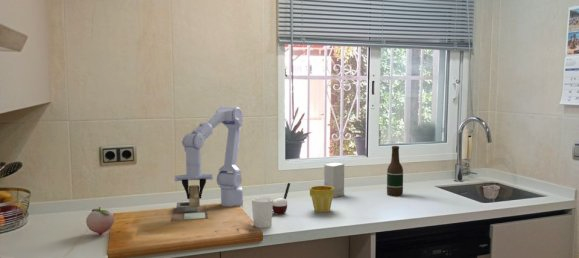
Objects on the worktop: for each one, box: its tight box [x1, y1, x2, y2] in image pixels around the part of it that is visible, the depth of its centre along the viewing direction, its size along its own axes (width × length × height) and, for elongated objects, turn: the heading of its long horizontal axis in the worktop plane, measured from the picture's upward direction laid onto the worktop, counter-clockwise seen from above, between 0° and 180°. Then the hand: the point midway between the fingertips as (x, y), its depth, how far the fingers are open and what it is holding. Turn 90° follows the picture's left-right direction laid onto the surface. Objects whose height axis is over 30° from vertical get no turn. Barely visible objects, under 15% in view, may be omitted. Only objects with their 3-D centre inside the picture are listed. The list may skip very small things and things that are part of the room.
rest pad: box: [184, 212, 205, 221], centre depth 178 cm, size 8×8×1 cm
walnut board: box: [170, 205, 209, 222], centre depth 183 cm, size 14×21×2 cm, turn 12°
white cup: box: [251, 196, 274, 229], centre depth 170 cm, size 8×8×10 cm
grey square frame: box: [175, 201, 198, 213], centre depth 187 cm, size 8×8×2 cm
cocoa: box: [272, 182, 291, 215], centre depth 187 cm, size 10×6×12 cm, turn 102°
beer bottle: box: [386, 145, 404, 198], centre depth 219 cm, size 8×8×24 cm
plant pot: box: [309, 185, 334, 213], centre depth 191 cm, size 10×10×10 cm
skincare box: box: [323, 162, 345, 199], centre depth 219 cm, size 8×7×16 cm
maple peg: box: [188, 184, 201, 207], centre depth 177 cm, size 4×4×8 cm
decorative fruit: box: [85, 206, 115, 235], centre depth 159 cm, size 9×8×10 cm
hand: (194, 198), depth 177 cm, fingers closed on maple peg, 4 cm apart
